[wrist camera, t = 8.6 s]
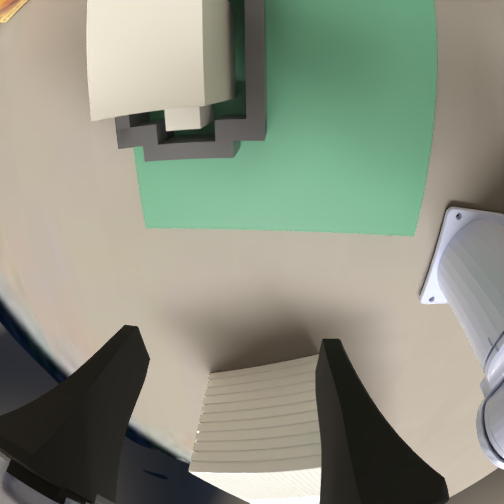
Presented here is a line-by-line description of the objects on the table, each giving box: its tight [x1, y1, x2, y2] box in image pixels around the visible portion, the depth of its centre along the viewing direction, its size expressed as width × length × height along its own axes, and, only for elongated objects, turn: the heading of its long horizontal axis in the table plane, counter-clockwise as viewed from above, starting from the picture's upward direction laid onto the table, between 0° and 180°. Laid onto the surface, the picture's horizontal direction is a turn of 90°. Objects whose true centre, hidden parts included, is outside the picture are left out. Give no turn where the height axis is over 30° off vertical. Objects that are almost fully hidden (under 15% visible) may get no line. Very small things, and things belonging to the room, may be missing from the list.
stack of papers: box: [189, 354, 321, 504], centre depth 29 cm, size 32×11×11 cm, turn 22°
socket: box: [115, 0, 267, 162], centre depth 12 cm, size 7×9×2 cm
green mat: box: [134, 0, 437, 236], centre depth 13 cm, size 17×20×1 cm
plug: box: [87, 0, 237, 131], centre depth 10 cm, size 4×8×7 cm, turn 1°
